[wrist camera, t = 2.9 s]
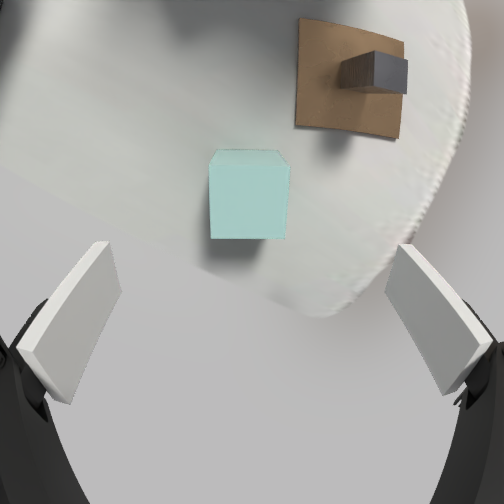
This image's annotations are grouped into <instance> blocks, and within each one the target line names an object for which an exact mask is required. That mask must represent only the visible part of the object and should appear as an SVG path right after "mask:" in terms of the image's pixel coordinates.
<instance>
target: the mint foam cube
mask: <svg viewBox="0 0 504 504" xmlns="http://www.w3.org/2000/svg"><path fill="white" fill-rule="evenodd" d="M289 180H290V166H289V164H288V163H287V162H286V160H285V159H284V158H283V157H282V155H281V154H280V153H279V152H278V151H277V150H216V152H215V154H214V156H213V158H212V160H211V162H210V164H209V202H210V229H211V239H285V231H286V219H287V207H288V194H289Z"/></svg>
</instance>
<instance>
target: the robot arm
mask: <svg viewBox="0 0 504 504" xmlns="http://www.w3.org/2000/svg"><path fill="white" fill-rule="evenodd" d="M2 2H3V0H0V9H1V6H2ZM121 293H122V290H121V286H120V283H119V279H118V275H117V271H116V267H115V263H114V259H113V254H112V250H111V245H110V242H95V243H94V244H93V245H92V246H91V248H90V249H89V250H88V251H87V252H86V253H85V254H84V256H83V257H82V258H81V259H80V260H79V262H78V263H77V264H76V266H74V268H73V269H72V270H71V271H70V273H69V274H68V275H67V276H66V277H65V279H64V280H63V281H62V283H61V284H60V285H59V286H58V288H57V289H56V290H55V292H54V293H53V294H52V296H51V297H50V298H49V299H46V300H44V301H43V302H42V303H41V304H40V305H38V306H37V307H36V309H35V310H34V311H33V313H32V314H31V317H29V318H28V320H27V321H26V324H24V326H23V327H22V329H21V330H20V332H19V333H18V335H17V336H16V338H15V339H14V341H13V342H12V344H11V345H10V347H9V349H8V347H7V346H6V344H5V343H4V341H3V340H2V338H1V336H0V504H90V503H89V502H88V500H87V498H86V496H85V494H84V492H83V490H82V489H81V486H80V484H79V483H78V480H77V478H76V476H75V474H74V472H73V470H72V468H71V466H70V464H69V461H68V459H67V456H66V454H65V452H64V450H63V447H62V444H61V442H60V439H59V436H58V434H57V431H56V428H55V425H54V422H53V419H52V416H51V413H50V410H49V407H48V403H47V401H46V399H45V398H44V395H45V393H46V391H47V392H48V393H49V394H50V396H51V397H52V398H53V399H54V400H56V401H59V402H62V403H66V404H69V405H70V404H71V402H72V399H73V397H74V394H75V392H76V389H77V387H78V384H79V382H80V379H81V377H82V375H83V372H84V370H85V368H86V365H87V363H88V361H89V358H90V356H91V354H92V352H93V349H94V347H95V345H96V343H97V341H98V339H99V337H100V334H101V332H102V330H103V328H104V326H105V324H106V322H107V320H108V318H109V316H110V314H111V312H112V310H113V308H114V306H115V304H116V302H117V300H118V299H119V297H120V295H121ZM385 293H386V295H387V297H388V298H389V300H390V302H391V303H392V305H393V306H394V308H395V310H396V311H397V313H398V315H399V316H400V318H401V320H402V321H403V323H404V325H405V327H406V328H407V330H408V332H409V333H410V335H411V337H412V339H413V340H414V342H415V344H416V346H417V348H418V349H419V351H420V353H421V355H422V357H423V359H424V360H425V362H426V364H427V366H428V368H429V370H430V372H431V374H432V376H433V378H434V380H435V382H436V384H437V385H438V388H439V390H440V392H441V394H442V396H444V395H447V394H450V393H453V392H455V391H457V390H458V388H459V387H460V386H461V385H462V383H463V382H464V381H465V383H466V385H467V387H466V388H465V390H464V391H463V392H462V393H461V394H460V396H459V397H458V398H457V399H456V400H455V402H454V404H453V405H456V404H457V403H458V402H459V401H460V400H461V399H462V401H461V404H460V405H459V407H460V411H459V415H458V420H457V424H456V428H455V432H454V436H453V440H452V444H451V447H450V450H449V454H448V457H447V460H446V463H445V466H444V469H443V472H442V474H441V477H440V480H439V482H438V485H437V488H436V490H435V493H434V495H433V498H432V500H431V502H430V504H504V342H500V343H498V342H497V340H496V339H495V338H494V336H493V335H492V333H491V332H490V331H489V329H488V328H487V327H486V325H485V324H484V323H483V321H482V320H480V318H479V316H478V315H477V314H475V311H474V310H473V309H472V308H471V306H470V305H469V304H468V303H467V302H465V301H464V300H463V299H461V298H460V297H459V296H458V295H457V294H456V292H455V291H454V290H453V289H452V288H451V287H450V285H449V284H448V283H447V282H446V281H445V280H444V278H443V277H442V276H441V275H440V274H439V273H438V272H437V271H436V270H435V269H434V267H433V266H432V265H431V264H430V263H429V262H428V261H427V260H426V259H425V258H424V257H423V256H422V255H421V254H420V253H419V252H418V251H417V250H416V248H415V247H414V246H413V245H412V244H399V245H398V248H397V252H396V256H395V259H394V263H393V266H392V269H391V273H390V276H389V279H388V282H387V285H386V288H385Z"/></svg>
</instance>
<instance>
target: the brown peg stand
mask: <svg viewBox="0 0 504 504" xmlns="http://www.w3.org/2000/svg"><path fill="white" fill-rule="evenodd" d="M407 74H408V60H406V59H404V42H402V41H399V40H396V39H393V38H390V37H387V36H383V35H380V34H377V33H373V32H369V31H365V30H362V29H358V28H353V27H349V26H344V25H340V24H335V23H329V22H324V21H318V20H311V19H304V18H299V39H298V75H297V100H296V120H295V125H303V126H314V127H324V128H333V129H342V130H349V131H356V132H363V133H369V134H375V135H381V136H386V137H392V138H397V139H399V131H400V122H401V110H402V97H403V94H407Z"/></svg>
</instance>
